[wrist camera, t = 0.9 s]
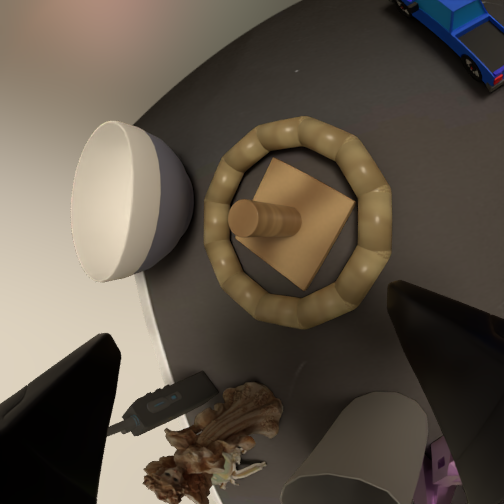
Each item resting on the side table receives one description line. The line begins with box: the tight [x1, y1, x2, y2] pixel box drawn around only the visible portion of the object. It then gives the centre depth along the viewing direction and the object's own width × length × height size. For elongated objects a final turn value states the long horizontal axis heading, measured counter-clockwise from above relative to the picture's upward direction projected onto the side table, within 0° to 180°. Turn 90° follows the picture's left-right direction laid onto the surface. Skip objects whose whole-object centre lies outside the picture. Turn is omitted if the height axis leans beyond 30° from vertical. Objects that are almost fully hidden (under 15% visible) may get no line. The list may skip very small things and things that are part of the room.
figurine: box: [143, 382, 283, 504], centre depth 20 cm, size 7×6×15 cm
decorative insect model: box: [211, 445, 266, 489], centre depth 28 cm, size 9×11×5 cm
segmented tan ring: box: [204, 116, 392, 329], centre depth 22 cm, size 17×17×2 cm
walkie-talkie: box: [107, 371, 219, 436], centre depth 23 cm, size 5×3×20 cm
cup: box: [280, 391, 428, 504], centre depth 15 cm, size 8×8×10 cm
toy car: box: [389, 0, 504, 92], centre depth 11 cm, size 7×12×5 cm, turn 30°
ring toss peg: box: [228, 157, 356, 291], centre depth 21 cm, size 8×8×7 cm
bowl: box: [71, 121, 194, 282], centre depth 29 cm, size 16×16×10 cm
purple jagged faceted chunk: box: [413, 436, 462, 504], centre depth 12 cm, size 8×7×6 cm
